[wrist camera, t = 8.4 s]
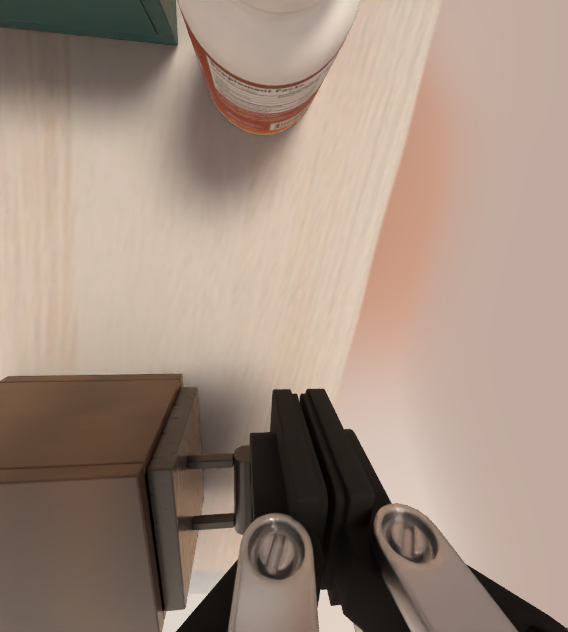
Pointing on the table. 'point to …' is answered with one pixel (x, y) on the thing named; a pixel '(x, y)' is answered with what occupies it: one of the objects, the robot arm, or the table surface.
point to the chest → (95, 18)
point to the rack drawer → (187, 496)
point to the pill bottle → (266, 55)
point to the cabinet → (80, 502)
